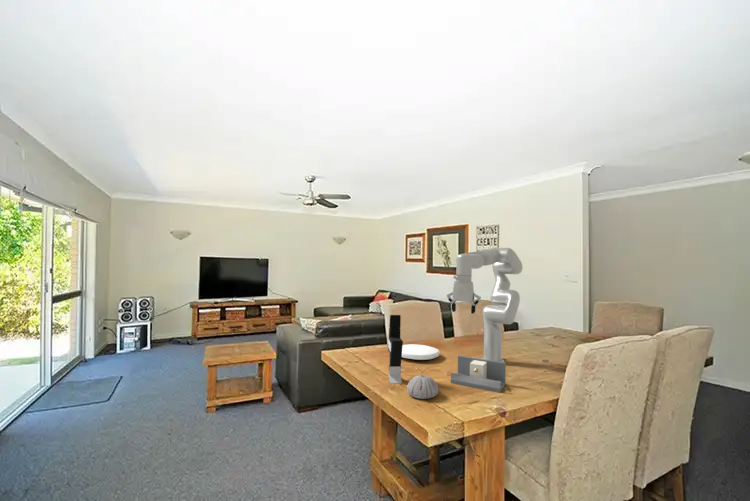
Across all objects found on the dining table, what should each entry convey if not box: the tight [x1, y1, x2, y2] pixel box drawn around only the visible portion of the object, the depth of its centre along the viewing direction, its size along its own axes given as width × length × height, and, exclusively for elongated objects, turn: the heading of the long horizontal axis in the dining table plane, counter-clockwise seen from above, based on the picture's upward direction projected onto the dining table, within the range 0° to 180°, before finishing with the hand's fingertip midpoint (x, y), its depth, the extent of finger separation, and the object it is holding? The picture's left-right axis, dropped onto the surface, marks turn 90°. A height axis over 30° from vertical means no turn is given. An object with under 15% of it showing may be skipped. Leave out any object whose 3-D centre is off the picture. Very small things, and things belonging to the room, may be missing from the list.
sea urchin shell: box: [406, 374, 440, 400], centre depth 153 cm, size 13×14×8 cm
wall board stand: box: [450, 354, 507, 394], centre depth 168 cm, size 12×22×10 cm, turn 59°
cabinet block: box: [470, 360, 487, 379], centre depth 168 cm, size 8×6×8 cm
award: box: [387, 314, 404, 384], centre depth 173 cm, size 15×5×30 cm, turn 5°
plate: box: [402, 343, 441, 361], centre depth 213 cm, size 28×6×27 cm
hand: (463, 312), depth 185 cm, fingers open, 9 cm apart
